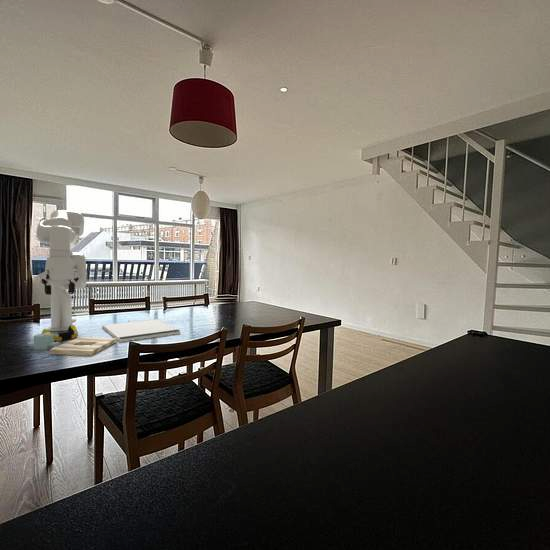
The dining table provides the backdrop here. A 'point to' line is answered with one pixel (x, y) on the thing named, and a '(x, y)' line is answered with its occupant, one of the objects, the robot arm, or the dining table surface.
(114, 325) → the white flat board
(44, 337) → the servo block
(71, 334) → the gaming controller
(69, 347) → the plate
